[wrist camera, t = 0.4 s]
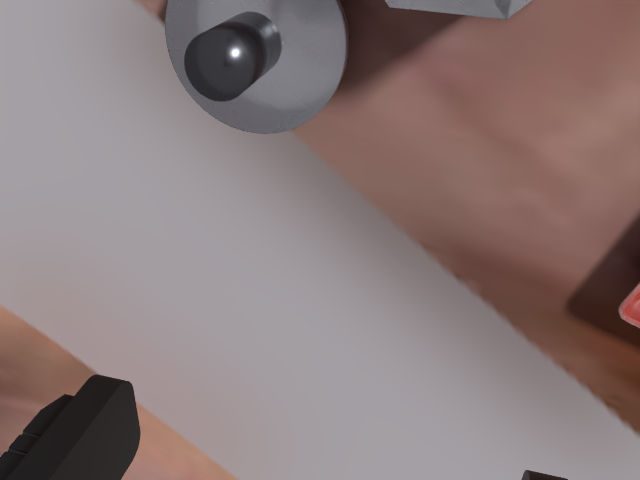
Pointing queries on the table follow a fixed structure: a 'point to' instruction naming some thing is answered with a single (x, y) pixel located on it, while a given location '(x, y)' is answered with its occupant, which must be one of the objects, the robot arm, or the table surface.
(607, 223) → the table surface
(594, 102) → the table surface
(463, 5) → the pot
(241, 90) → the lid
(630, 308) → the plant saucer
